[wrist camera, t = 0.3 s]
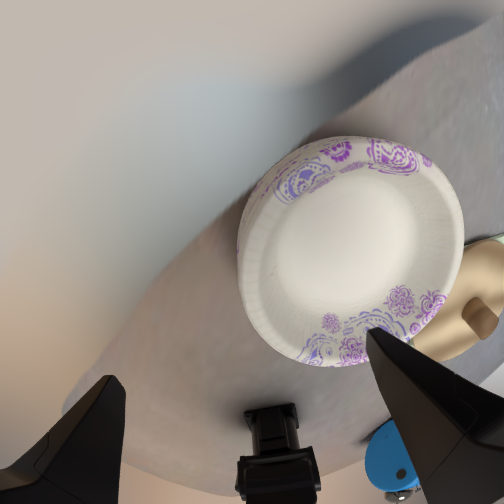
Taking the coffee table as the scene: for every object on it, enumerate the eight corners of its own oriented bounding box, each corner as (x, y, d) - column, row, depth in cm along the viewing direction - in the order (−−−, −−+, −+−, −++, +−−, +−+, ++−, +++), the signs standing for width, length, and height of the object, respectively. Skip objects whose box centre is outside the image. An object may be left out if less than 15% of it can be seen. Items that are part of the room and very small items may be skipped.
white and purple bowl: (356, 95, 18) (415, 88, 11) (431, 242, 24) (482, 283, 17) (195, 213, 21) (176, 262, 14) (304, 332, 27) (323, 396, 20)
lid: (491, 332, 30) (508, 352, 26) (401, 373, 31) (416, 401, 27) (519, 227, 23) (545, 243, 19) (420, 257, 24) (449, 284, 19)
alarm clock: (376, 443, 42) (397, 506, 28) (354, 442, 40) (375, 512, 26) (428, 402, 37) (461, 469, 23) (410, 400, 35) (445, 475, 22)
